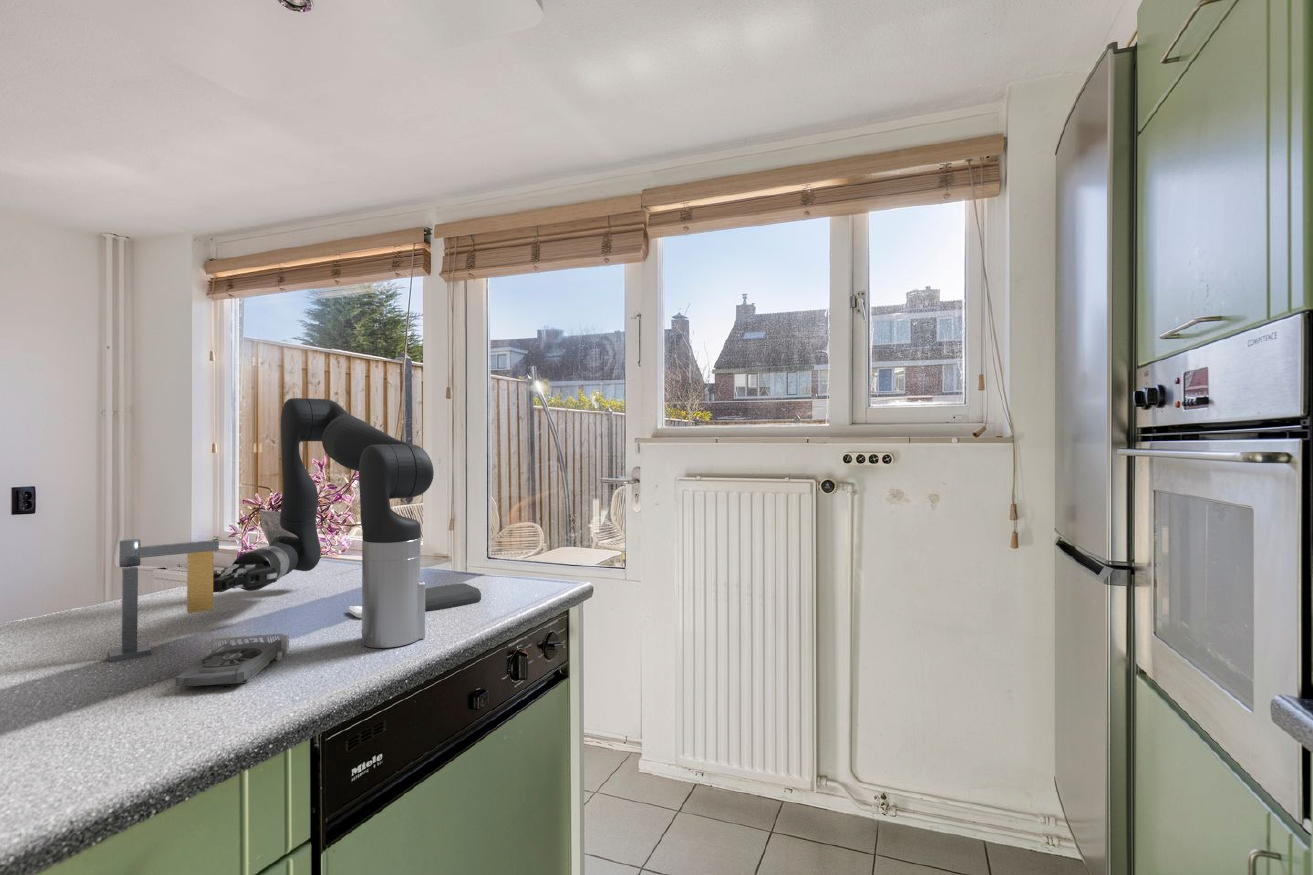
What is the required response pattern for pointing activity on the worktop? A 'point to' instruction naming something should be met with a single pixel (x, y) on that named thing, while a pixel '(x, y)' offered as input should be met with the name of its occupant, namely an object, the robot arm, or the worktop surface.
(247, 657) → the graphics card
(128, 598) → the mast
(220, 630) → the worktop surface
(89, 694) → the worktop surface
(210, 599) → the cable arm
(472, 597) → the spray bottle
